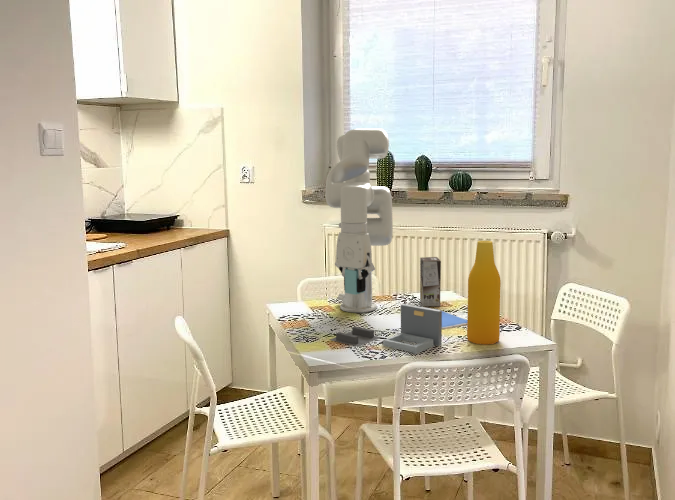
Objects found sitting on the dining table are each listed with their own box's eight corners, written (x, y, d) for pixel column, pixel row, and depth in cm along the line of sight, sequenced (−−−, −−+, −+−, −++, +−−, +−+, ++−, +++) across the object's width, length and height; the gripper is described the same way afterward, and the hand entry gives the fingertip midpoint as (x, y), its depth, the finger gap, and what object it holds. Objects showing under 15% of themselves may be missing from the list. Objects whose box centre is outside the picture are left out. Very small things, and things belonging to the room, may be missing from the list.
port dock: (380, 346, 194) (380, 312, 192) (403, 336, 203) (403, 303, 201) (419, 354, 186) (419, 319, 184) (441, 344, 195) (441, 310, 193)
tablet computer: (473, 325, 216) (473, 321, 216) (441, 331, 210) (441, 327, 210) (436, 312, 233) (436, 308, 232) (406, 317, 227) (406, 313, 226)
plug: (345, 292, 198) (344, 265, 196) (353, 290, 201) (353, 263, 199) (355, 294, 195) (355, 267, 194) (364, 292, 198) (364, 265, 197)
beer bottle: (505, 340, 198) (508, 241, 193) (486, 347, 192) (488, 245, 187) (479, 333, 205) (481, 238, 200) (460, 340, 199) (461, 241, 194)
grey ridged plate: (328, 341, 200) (328, 332, 199) (352, 332, 208) (352, 324, 208) (358, 347, 193) (358, 339, 192) (381, 338, 201) (381, 330, 201)
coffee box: (440, 306, 238) (441, 260, 236) (422, 306, 238) (422, 261, 236) (437, 300, 247) (437, 256, 245) (419, 300, 247) (419, 256, 245)
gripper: (323, 227, 197) (324, 289, 200) (369, 232, 187) (370, 297, 190) (339, 224, 203) (340, 284, 206) (385, 228, 192) (385, 292, 196)
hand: (354, 290), depth 198 cm, fingers closed on plug, 4 cm apart
